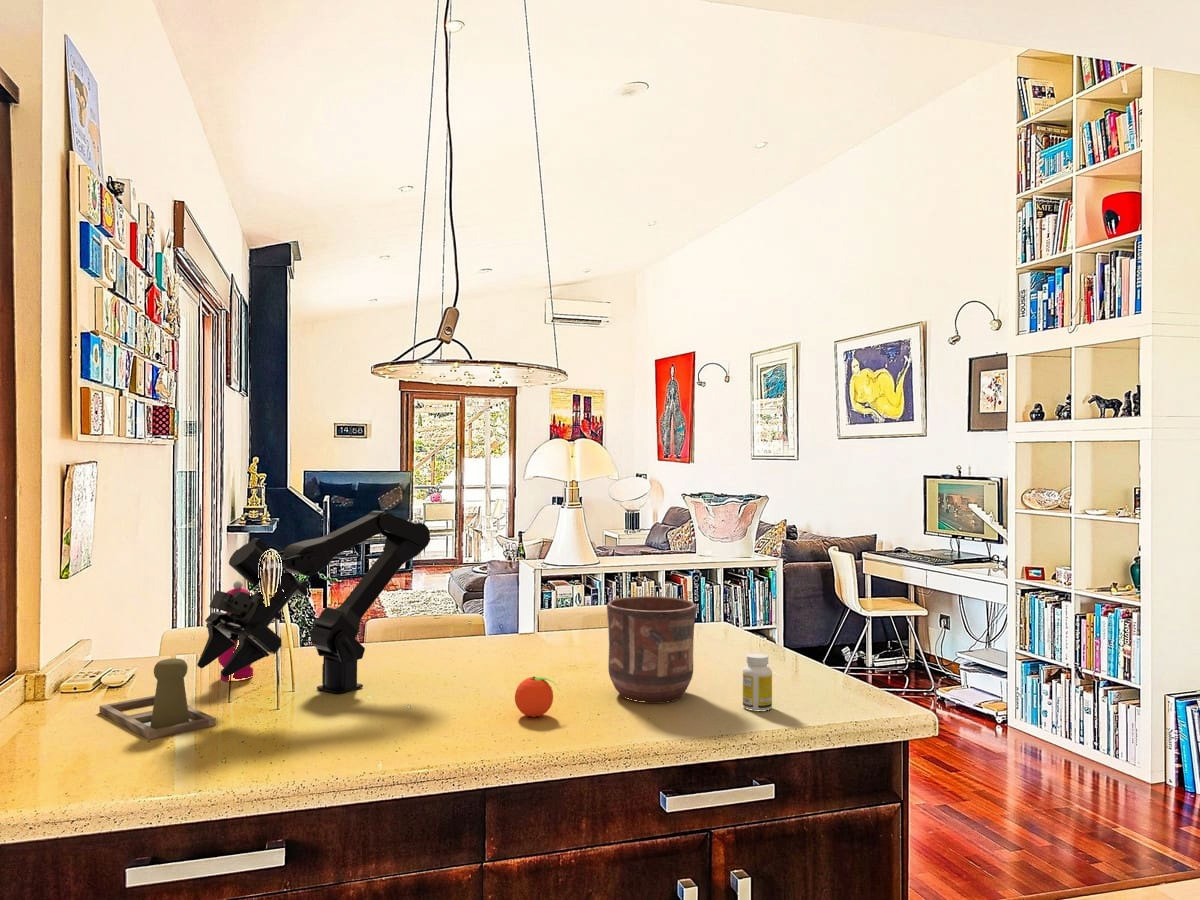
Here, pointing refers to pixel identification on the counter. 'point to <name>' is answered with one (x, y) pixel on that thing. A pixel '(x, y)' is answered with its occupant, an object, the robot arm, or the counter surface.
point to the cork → (170, 694)
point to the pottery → (651, 647)
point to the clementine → (534, 696)
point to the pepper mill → (227, 655)
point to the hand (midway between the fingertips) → (210, 671)
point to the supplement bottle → (757, 683)
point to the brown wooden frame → (143, 720)
